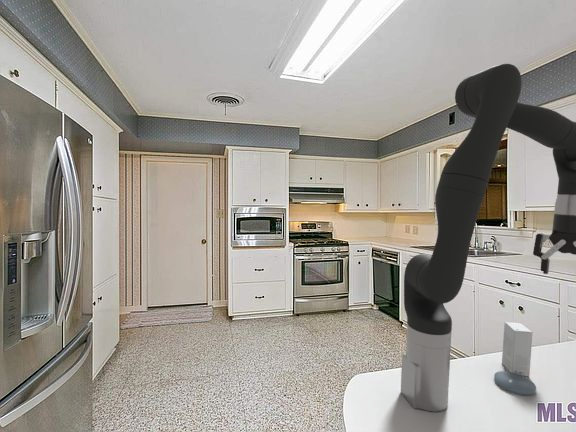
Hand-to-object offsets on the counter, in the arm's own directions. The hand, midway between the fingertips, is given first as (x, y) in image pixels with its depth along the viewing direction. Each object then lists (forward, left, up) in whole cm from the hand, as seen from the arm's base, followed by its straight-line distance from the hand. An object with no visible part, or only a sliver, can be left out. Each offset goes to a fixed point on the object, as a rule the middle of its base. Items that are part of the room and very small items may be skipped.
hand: (567, 277), depth 79 cm
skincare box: (-8, +5, -27) cm, 28 cm away
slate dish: (-14, -1, -26) cm, 30 cm away
